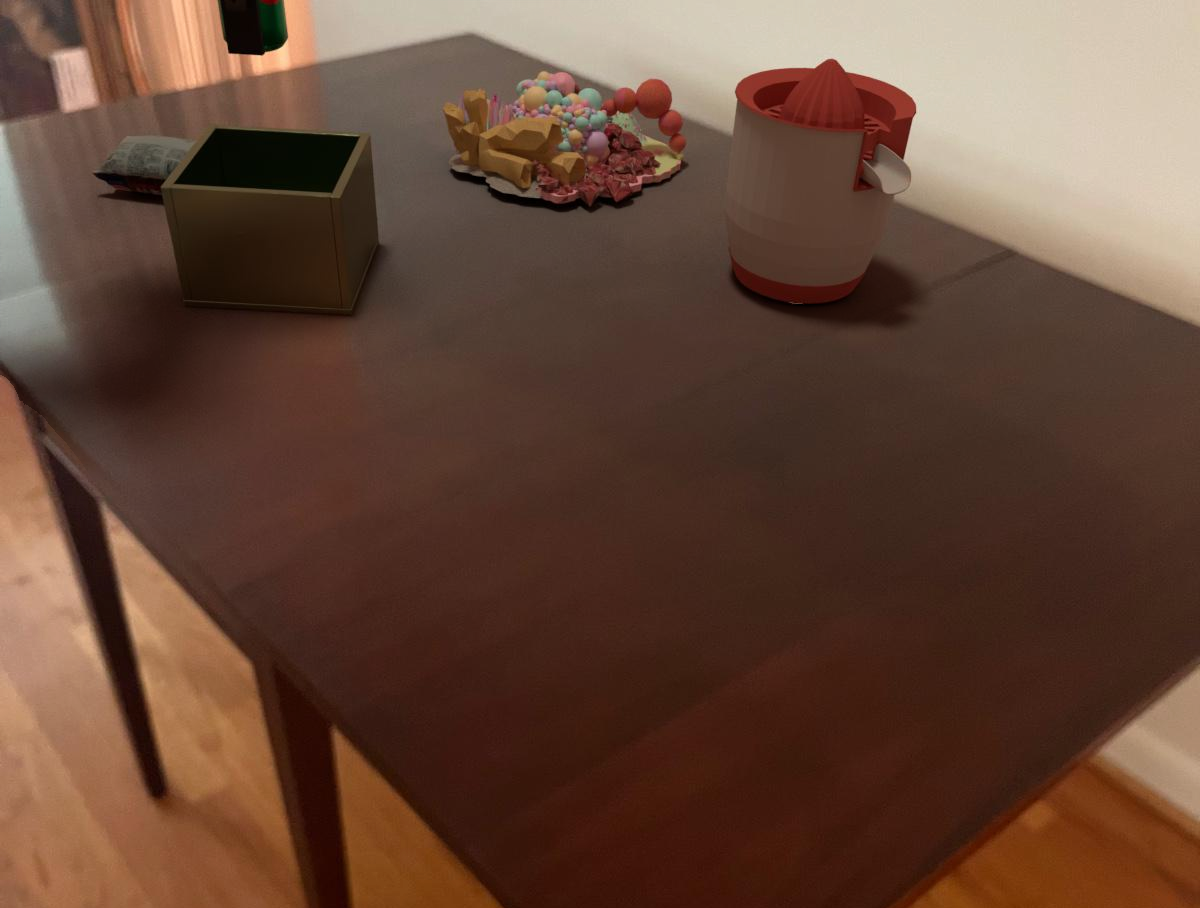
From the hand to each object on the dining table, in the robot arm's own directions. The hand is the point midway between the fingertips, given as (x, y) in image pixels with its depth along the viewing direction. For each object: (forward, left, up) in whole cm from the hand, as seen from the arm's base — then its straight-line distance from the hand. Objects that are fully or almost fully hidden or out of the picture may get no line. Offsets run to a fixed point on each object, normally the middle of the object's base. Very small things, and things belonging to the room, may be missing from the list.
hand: (255, 41), depth 94 cm
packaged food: (-16, +18, -20) cm, 32 cm away
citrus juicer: (+48, +4, -20) cm, 52 cm away
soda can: (0, 0, 0) cm, 0 cm away
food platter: (+24, +30, -20) cm, 44 cm away
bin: (0, 0, -20) cm, 20 cm away
